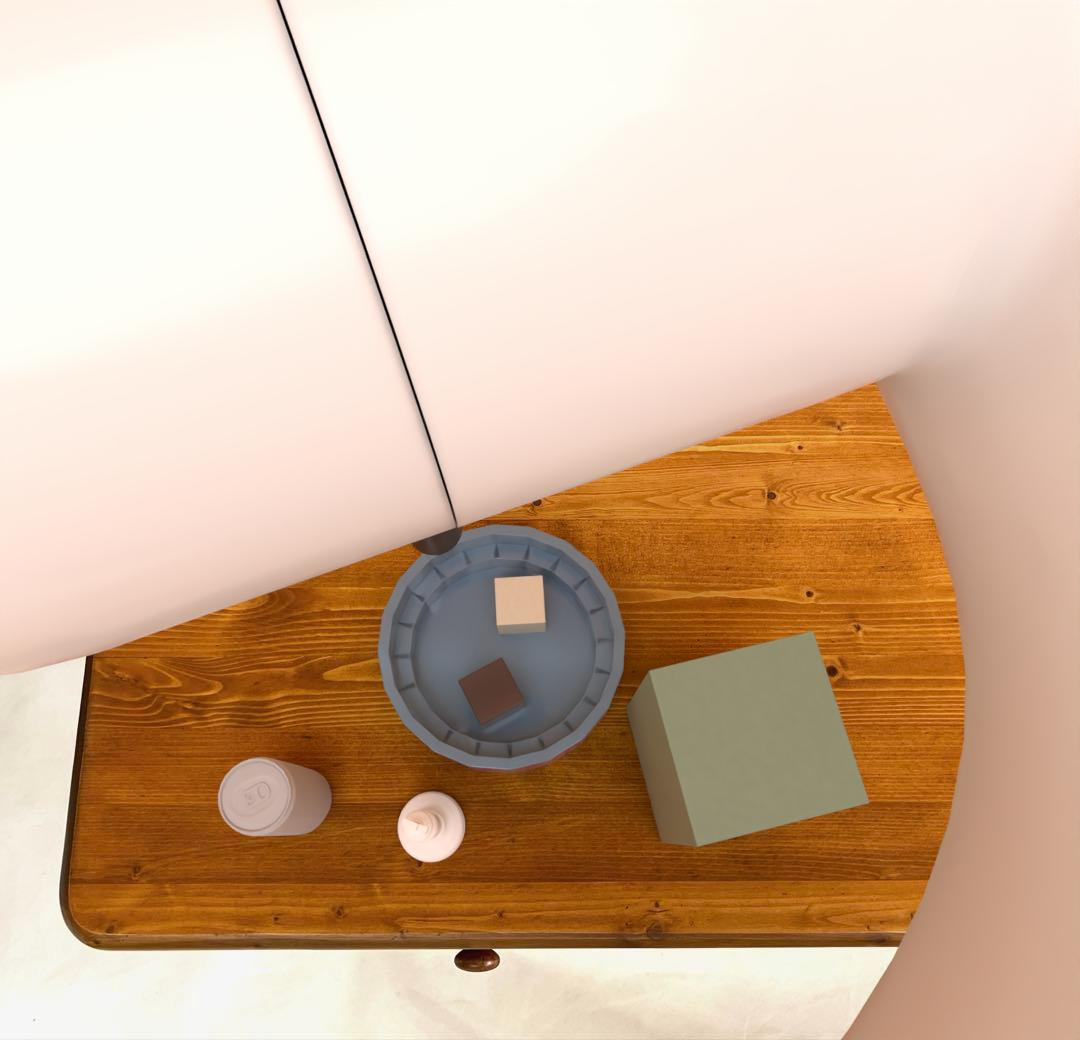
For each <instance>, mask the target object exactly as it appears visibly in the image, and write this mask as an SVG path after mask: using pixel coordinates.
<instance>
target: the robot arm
mask: <svg viewBox="0 0 1080 1040" xmlns="http://www.w3.org/2000/svg"><path fill="white" fill-rule="evenodd" d="M874 383H875V386H876V388H877V390H878V391H879V394H880V396H881V398H882V401H883V402H884V403H883V404H885V407H886V409H887V411H888V413H889V416H890V418H891V420H892V422H893V425H894V426H895V427H894V428H895V429H896V431H897V433H898V435H899V438H900V439H901V442H902V444H903V446H904V449H905V451H906V453H907V456H908V458H909V460H910V463H911V466H912V468H913V471H914V473H915V475H916V479H917V481H918V483H919V486H920V488H921V491H922V494H923V496H924V498H925V501H926V503H927V507H928V509H929V511H930V514H931V516H932V519H933V521H934V526H935V528H936V532H937V535H938V539H939V543H940V546H941V551H942V553H943V556H944V560H945V563H946V567H947V570H948V574H949V577H950V581H951V584H952V587H953V593H954V598H955V605H956V613H957V621H958V628H959V635H960V641H961V643H960V644H961V649H962V657H963V664H964V675H965V676H964V677H965V678H964V713H963V714H964V715H963V717H964V718H963V721H964V722H963V743H962V748H961V754H960V759H959V764H958V771H957V775H956V781H955V787H954V792H953V797H952V802H951V808H950V813H949V818H948V824H947V826H946V829H945V832H944V835H943V838H942V841H941V844H940V847H939V849H938V851H937V855H936V859H935V862H934V864H933V867H932V870H931V872H930V876H929V879H928V882H927V884H926V887H925V891H924V892H923V897H921V900H920V902H919V904H918V905H917V908H916V910H915V913H914V915H913V916H912V918H911V920H910V923H909V924H908V926H907V928H906V931H905V933H904V935H903V936H902V939H901V941H900V943H899V945H898V947H897V949H896V952H895V953H894V955H893V958H892V959H891V961H890V962H889V964H888V965H887V967H886V969H885V970H884V971H883V973H882V975H881V977H880V978H879V980H878V981H877V983H876V984H875V986H874V988H873V990H872V991H871V993H870V994H869V995H868V997H867V999H866V1000H865V1003H864V1004H863V1006H862V1007H861V1009H860V1010H859V1012H858V1014H857V1015H856V1016H855V1018H854V1020H853V1022H852V1023H851V1024H850V1026H849V1028H848V1029H847V1031H845V1033H844V1035H843V1036H842V1037H841V1038H840V1040H1080V0H0V676H8V675H14V674H15V675H16V674H17V675H18V674H22V673H26V672H27V673H28V672H31V671H34V670H38V669H42V668H46V667H50V666H54V665H57V664H61V663H65V662H66V663H67V662H69V661H73V660H77V659H81V658H84V657H88V656H93V655H95V654H99V653H102V652H106V651H109V650H112V649H115V648H119V647H120V646H123V645H126V644H128V643H131V642H134V641H136V640H140V639H142V638H145V637H148V636H150V635H153V634H156V633H158V632H159V633H160V632H161V631H165V630H167V629H171V628H173V627H176V626H179V625H181V624H184V623H187V622H190V621H194V620H196V619H198V618H202V617H204V616H207V615H210V614H213V613H216V612H219V611H221V610H222V611H223V610H224V609H227V608H230V607H233V606H236V605H239V604H241V603H244V602H247V601H250V600H254V599H256V598H259V597H262V596H265V595H267V594H270V593H273V592H276V591H279V590H281V589H284V588H288V587H290V586H293V585H296V584H299V583H302V582H305V581H307V580H310V579H313V578H316V577H318V576H322V575H324V574H328V573H330V572H333V571H336V570H339V569H341V568H344V567H348V566H350V565H352V564H353V565H354V564H355V563H356V564H357V563H359V562H362V561H365V560H367V559H370V558H373V557H376V556H379V555H381V554H384V553H387V552H390V551H393V550H396V549H399V548H401V547H404V546H407V545H410V544H411V543H413V542H416V541H419V540H422V539H424V538H427V537H430V536H433V535H436V534H439V533H442V532H444V531H447V530H450V529H453V528H456V526H457V528H458V527H461V526H462V527H464V526H467V525H470V524H472V523H476V522H478V521H481V520H484V519H487V518H491V517H493V516H496V515H499V514H502V513H505V512H507V511H511V510H513V509H517V508H518V507H522V506H525V505H529V504H530V503H533V502H536V501H539V500H542V499H545V498H548V497H550V496H554V495H557V494H559V493H562V492H566V491H568V490H571V489H574V488H577V487H580V486H583V485H585V484H588V483H591V482H594V481H597V480H600V479H603V478H606V477H608V476H611V475H614V474H617V473H620V472H623V471H626V470H628V469H631V468H634V467H637V466H640V465H643V464H646V463H649V462H651V461H655V460H658V459H659V458H660V459H661V458H663V457H666V456H669V455H672V454H675V453H678V452H681V451H683V450H686V449H689V448H691V447H692V448H693V447H695V446H698V445H700V444H704V443H706V442H710V441H712V440H715V439H718V438H721V437H723V436H726V435H730V434H732V433H735V432H738V431H740V430H743V429H744V430H745V429H747V428H749V427H752V426H755V425H758V424H761V423H765V422H767V421H770V420H774V419H776V418H779V417H781V416H785V415H787V414H791V413H794V412H797V411H800V410H803V409H807V408H810V407H811V406H815V405H817V404H820V403H823V402H825V401H828V400H831V399H833V398H836V397H839V396H842V395H845V394H847V393H850V392H853V391H856V390H858V389H861V388H863V387H866V386H868V385H871V384H874ZM455 523H456V526H455Z"/></svg>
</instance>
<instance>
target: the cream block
mask: <svg viewBox="0 0 1080 1040" xmlns="http://www.w3.org/2000/svg"><path fill="white" fill-rule="evenodd" d="M494 580H495V601H496V622H497V628H498V632H499V634H500V635H502V634H518V633H535V632H546V620H545V604H544V588H543V576H542V575H538V576H521V577H505V578H495V579H494Z"/></svg>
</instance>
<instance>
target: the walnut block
mask: <svg viewBox="0 0 1080 1040" xmlns="http://www.w3.org/2000/svg"><path fill="white" fill-rule="evenodd" d="M458 682H459V684H460V686H461V688H462V690H463V692H464V694H465V696H466V698H467V700H468V702H469V704H470V706H471V708H472V709H473V711H474V713H475V715H476V717H477V719H478V721H479V723H480V725H481V726H482V728H483V729H486V728H488V727H490V726H492V725H494V724H496V723H497V722H499V721H501V720H503V719H505V718H507V717H508V716H510V715H512V714H514V713H516V712H517V711H519V710H521V709H523V708H525V707H526V705H525V700H524V698H523V696H522V694H521V692H520V690H519V688H518V686H517V685H516V683H515V681H514V679H513V677H512V675H511V673H510V671H509V670H508V668H507V666H506V664H505V662H504V660H503V658H499V659H497V660H495V661H494V662H492V663H490V664H488V665H486V666H484V667H482V668H481V669H479V670H477V671H475V672H473V673H471V674H469V675H467V676H466V677H464V678H462V679H460V680H459V681H458Z"/></svg>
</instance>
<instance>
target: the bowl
mask: <svg viewBox="0 0 1080 1040" xmlns="http://www.w3.org/2000/svg"><path fill="white" fill-rule="evenodd" d="M538 575H542V576H543V588H544V604H545V620H546V632H535V633H518V634H502V635H500V634H499V632H498V628H497V622H496V601H495V580H494V579H495V578H505V577H521V576H538ZM625 647H626V630H625V626H624V622H623V618H622V615H621V610H620V607H619V604H618V599H617V596H616V594H615V593H614V591H613V590H612V588H611V587H610V585H609V583H608V582H607V580H606V579H605V577H604V576H603V574H602V573H601V571H600V570H599V568H598V567H597V565H596V564H595V563H594V562H593V560H590V559H589V558H588V557H587V556H586V555H585V554H583V553H582V552H581V551H580V550H578V549H577V548H576V547H574V546H573V545H572V544H571V543H569V541H567V540H565V539H563V538H561V537H558V536H555V535H553V534H550V533H548V532H545V531H542V530H540V529H537V528H535V527H532V526H529V525H528V526H527V525H514V524H513V525H512V524H500V523H499V524H497V523H493V524H489V525H484V526H480V527H476V528H470V529H465V530H462V535H461V538H460V540H459V542H458V543H457V545H456V546H455V547H454V548H453V549H451V550H450V551H448V552H447V553H444V554H441V555H426V554H423V553H421V554H420V555H419V556H418V558H416V559H415V561H414V562H413V563H412V564H411V565H410V566H409V567H408V568H407V569H406V571H405V572H404V573H403V574H402V575H400V577H399V578H398V580H397V582H396V583H395V586H394V588H393V590H392V592H391V595H390V596H389V599H388V601H387V603H386V605H385V607H384V609H383V612H382V614H381V621H380V627H379V636H378V644H377V650H376V651H377V658H378V664H379V668H380V674H381V679H382V685H383V689H384V692H385V694H386V696H387V697H388V700H389V701H390V703H391V705H392V707H393V708H394V709H395V712H396V713H397V716H398V717H399V719H400V721H401V723H402V725H403V726H405V728H407V729H408V730H409V731H410V732H411V733H412V734H414V736H416V737H417V739H419V740H420V741H421V742H422V743H423V744H425V745H426V746H427V748H429V749H430V750H431V751H432V752H434V753H435V754H436V755H438V756H439V757H442V758H443V759H446V760H449V761H451V762H453V763H456V764H458V765H460V766H463V767H464V768H467V769H469V770H472V771H474V772H483V773H494V774H495V773H496V774H507V775H508V774H509V775H514V774H518V773H522V772H526V771H531V770H534V769H538V768H543V767H547V766H550V765H551V764H553V763H555V762H556V761H559V760H560V759H561V758H563V757H565V756H566V755H568V754H569V753H571V752H572V751H574V750H576V749H577V748H578V747H580V746H581V745H583V744H584V742H586V740H587V739H588V738H589V737H590V735H591V734H592V733H593V731H595V729H596V728H597V726H599V724H600V723H601V722H602V721H603V719H604V718H605V717H606V716H607V713H608V711H609V710H610V707H611V704H612V702H613V700H614V696H615V694H616V691H617V689H618V687H619V684H620V681H621V679H622V676H623V673H624V669H625V668H624V667H625V652H626V651H625V649H626V648H625ZM499 658H503V660H504V662H505V664H506V666H507V668H508V670H509V671H510V673H511V675H512V677H513V679H514V681H515V683H516V685H517V686H518V688H519V690H520V692H521V694H522V696H523V698H524V700H525V705H526V707H525V708H523V709H521V710H519V711H517V712H516V713H514V714H512V715H510V716H508V717H507V718H505V719H503V720H501V721H499V722H497V723H496V724H494V725H492V726H490V727H488V728H486V729H483V728H482V726H481V725H480V723H479V721H478V719H477V717H476V715H475V713H474V711H473V709H472V708H471V706H470V704H469V702H468V700H467V698H466V696H465V694H464V692H463V690H462V688H461V686H460V684H459V682H458V681H459V680H460V679H462V678H464V677H466V676H467V675H469V674H471V673H473V672H475V671H477V670H479V669H481V668H482V667H484V666H486V665H488V664H490V663H492V662H494V661H495V660H497V659H499Z"/></svg>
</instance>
